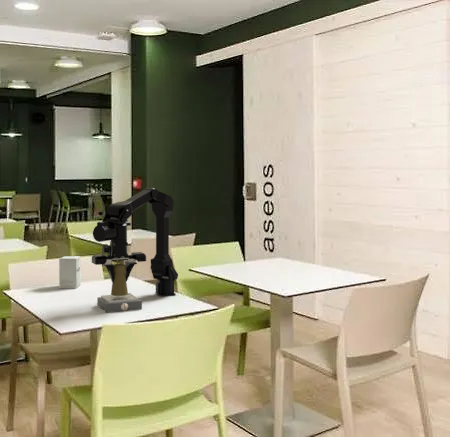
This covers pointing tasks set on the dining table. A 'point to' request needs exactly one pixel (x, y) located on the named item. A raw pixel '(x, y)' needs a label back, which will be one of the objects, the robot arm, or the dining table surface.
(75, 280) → the supplement box
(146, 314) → the dining table surface
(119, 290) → the cork
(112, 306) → the kitchen scale
